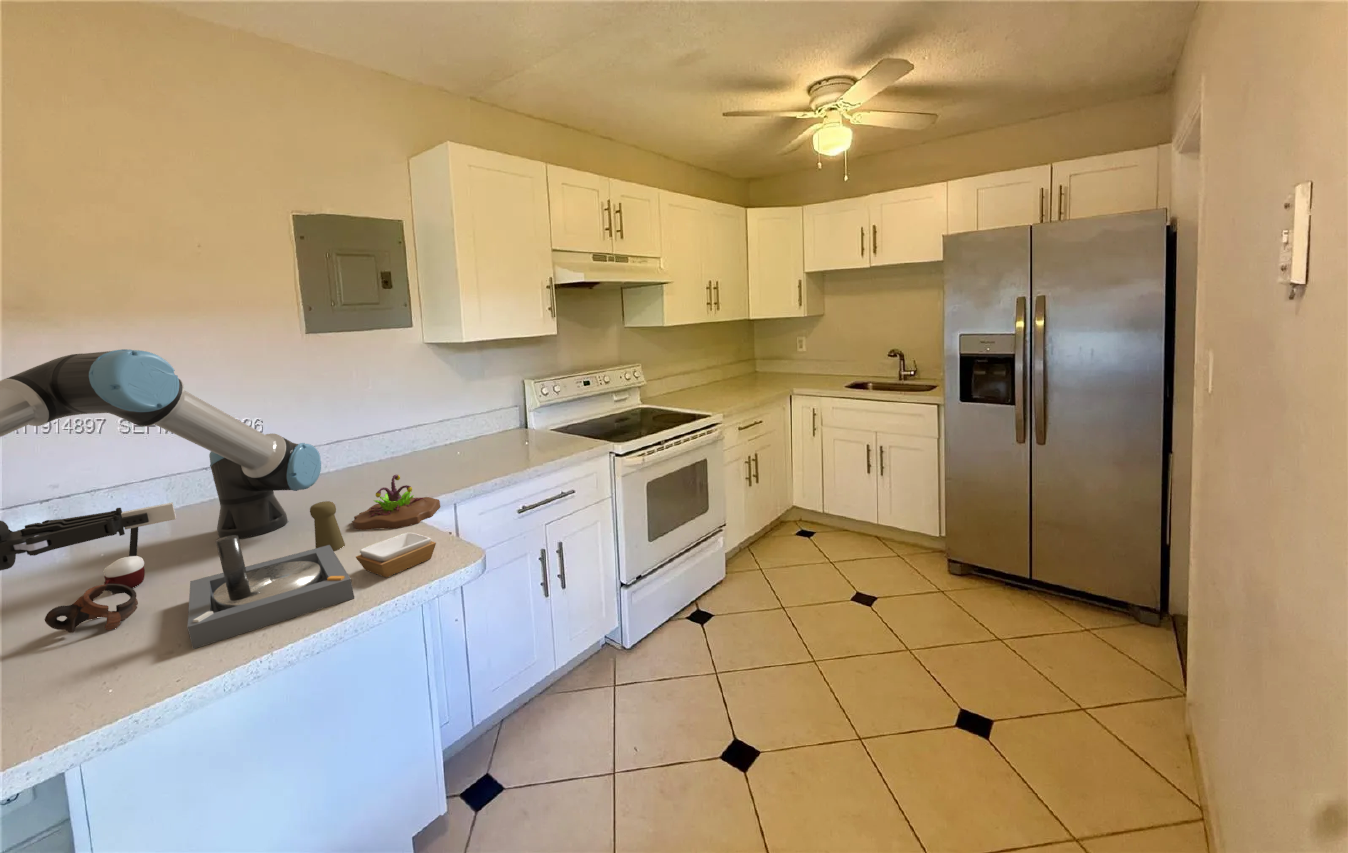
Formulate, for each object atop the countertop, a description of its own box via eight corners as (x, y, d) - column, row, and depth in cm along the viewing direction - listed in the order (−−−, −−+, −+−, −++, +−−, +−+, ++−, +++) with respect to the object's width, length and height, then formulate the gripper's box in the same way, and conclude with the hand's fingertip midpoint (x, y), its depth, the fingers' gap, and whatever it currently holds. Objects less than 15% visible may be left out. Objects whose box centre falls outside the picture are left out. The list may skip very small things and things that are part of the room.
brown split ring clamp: (118, 611, 117) (130, 575, 115) (138, 641, 113) (151, 605, 111) (31, 626, 106) (43, 587, 105) (50, 661, 102) (63, 620, 101)
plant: (452, 503, 169) (446, 464, 167) (416, 529, 150) (409, 485, 148) (384, 506, 171) (377, 468, 169) (341, 532, 152) (332, 489, 150)
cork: (332, 553, 137) (323, 507, 135) (309, 553, 138) (299, 507, 136) (351, 543, 143) (342, 498, 140) (329, 542, 144) (320, 498, 142)
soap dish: (384, 582, 120) (380, 558, 119) (357, 573, 125) (353, 550, 124) (439, 558, 130) (435, 536, 129) (412, 551, 135) (408, 529, 134)
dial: (265, 571, 125) (252, 511, 122) (341, 569, 122) (329, 508, 120) (191, 612, 108) (174, 544, 105) (276, 612, 106) (261, 541, 103)
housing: (194, 599, 118) (189, 579, 117) (333, 561, 132) (329, 543, 131) (193, 649, 99) (186, 625, 98) (354, 598, 113) (350, 576, 112)
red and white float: (112, 599, 122) (94, 545, 119) (95, 594, 125) (78, 541, 122) (166, 577, 130) (150, 525, 127) (149, 573, 133) (134, 522, 130)
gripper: (-11, 562, 95) (180, 523, 109) (-37, 588, 85) (177, 541, 99) (-25, 517, 94) (171, 482, 108) (-53, 537, 83) (167, 497, 97)
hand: (173, 510), depth 103 cm, fingers closed
